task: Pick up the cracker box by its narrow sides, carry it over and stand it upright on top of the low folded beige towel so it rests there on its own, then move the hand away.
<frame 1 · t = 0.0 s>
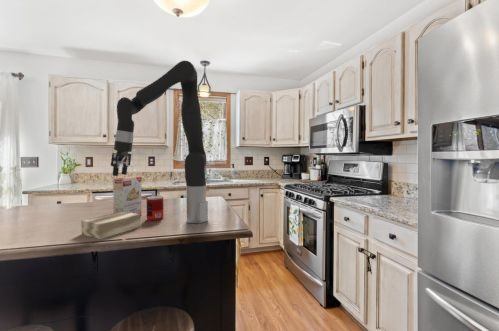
hand: (119, 175, 118), 22 cm above the countertop, tool pointing down, fingers open, 8 cm apart
folded beige towel: (112, 231, 105), on the countertop
cracker box: (128, 219, 125), on the countertop
canned food: (155, 219, 125), on the countertop
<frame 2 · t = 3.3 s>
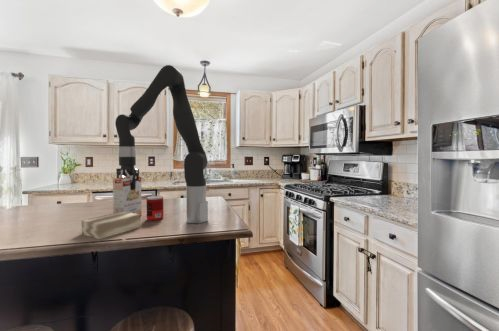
hand: (127, 189, 124), 15 cm above the countertop, tool pointing down, fingers closed on cracker box, 6 cm apart
cracker box: (128, 219, 125), on the countertop, touching gripper
everything else where it was.
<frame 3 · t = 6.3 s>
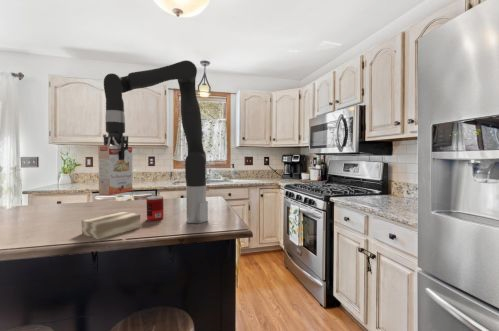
hand: (116, 159, 110), 30 cm above the countertop, tool pointing down, fingers closed on cracker box, 6 cm apart
cracker box: (117, 193, 111), point 15 cm above the countertop, touching gripper
everything else where it was.
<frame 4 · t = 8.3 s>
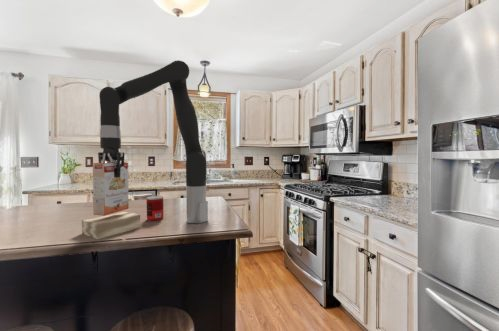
hand: (111, 176, 105), 23 cm above the countertop, tool pointing down, fingers closed on cracker box, 6 cm apart
cracker box: (112, 212, 105), point 8 cm above the countertop, touching gripper
everything else where it was.
when the fingers open (22 cm above the countertop, at t = 9.6 s): cracker box drops 1 cm, resting on folded beige towel.
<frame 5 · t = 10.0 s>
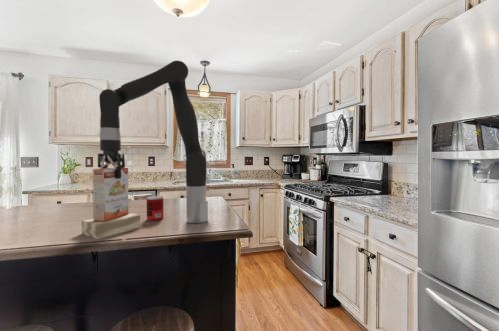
hand: (111, 178, 105), 22 cm above the countertop, tool pointing down, fingers open, 8 cm apart
folded beige towel: (112, 231, 105), on the countertop, touching cracker box
cracker box: (112, 217, 105), point 5 cm above the countertop, touching folded beige towel
everything else where it was.
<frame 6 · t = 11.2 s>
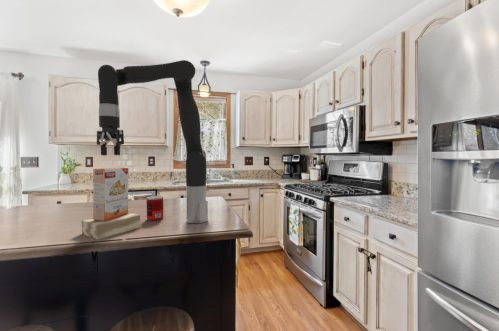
hand: (110, 155, 104), 32 cm above the countertop, tool pointing down, fingers open, 8 cm apart
nothing on the countertop moved.
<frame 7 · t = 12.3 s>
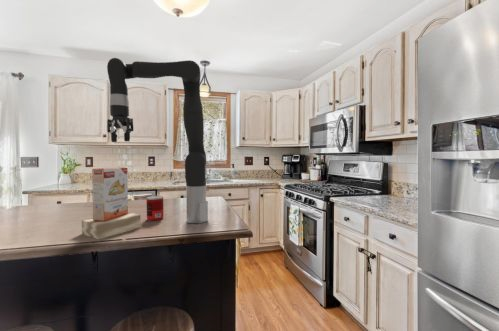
hand: (120, 141, 113), 38 cm above the countertop, tool pointing down, fingers open, 8 cm apart
nothing on the countertop moved.
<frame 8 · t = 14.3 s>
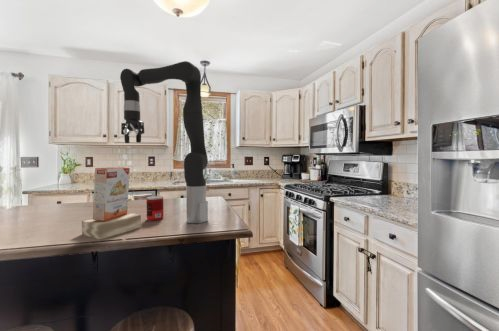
hand: (132, 142, 127), 38 cm above the countertop, tool pointing down, fingers open, 8 cm apart
folded beige towel: (112, 231, 105), on the countertop
cracker box: (111, 217, 105), point 6 cm above the countertop
everything else where it was.
at the end: cracker box inside the target area on the folded beige towel (0.6 cm from its centre), point 6.0 cm above the folded beige towel's base; cracker box tilted 3°; the gripper is holding nothing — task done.
